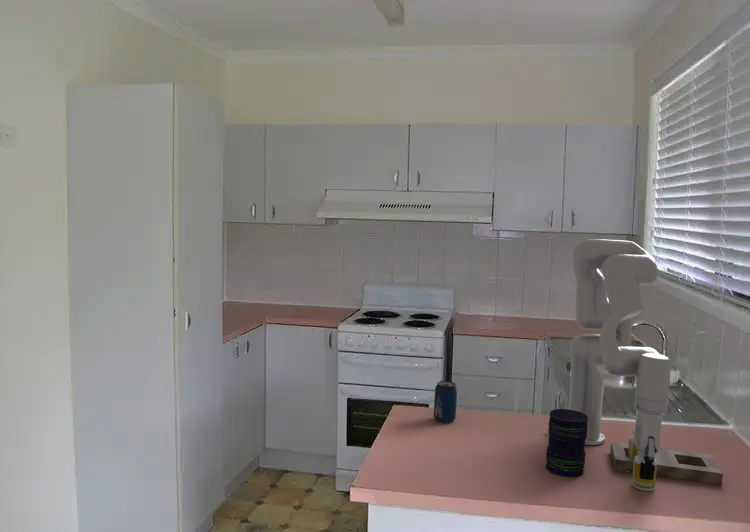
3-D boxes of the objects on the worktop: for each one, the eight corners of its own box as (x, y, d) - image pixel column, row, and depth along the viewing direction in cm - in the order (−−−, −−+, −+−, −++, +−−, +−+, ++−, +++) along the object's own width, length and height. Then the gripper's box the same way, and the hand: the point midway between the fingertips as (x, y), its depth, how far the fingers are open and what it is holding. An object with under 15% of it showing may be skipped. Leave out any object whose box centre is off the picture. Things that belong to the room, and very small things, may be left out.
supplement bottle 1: (622, 461, 184) (625, 427, 183) (638, 459, 186) (641, 426, 185) (636, 469, 179) (639, 434, 178) (652, 467, 181) (655, 433, 180)
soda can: (456, 418, 214) (458, 381, 212) (454, 425, 207) (456, 387, 206) (435, 415, 215) (437, 379, 214) (431, 422, 208) (433, 385, 207)
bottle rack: (614, 470, 177) (615, 459, 177) (610, 452, 190) (611, 442, 190) (721, 484, 171) (722, 473, 171) (709, 465, 184) (710, 455, 183)
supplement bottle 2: (656, 492, 165) (660, 454, 164) (633, 489, 166) (637, 452, 165) (652, 483, 170) (655, 446, 169) (630, 481, 171) (633, 444, 170)
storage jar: (573, 461, 182) (577, 408, 180) (591, 477, 172) (595, 421, 171) (539, 462, 180) (543, 409, 179) (554, 478, 171) (559, 421, 169)
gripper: (630, 392, 175) (624, 459, 177) (639, 412, 158) (632, 485, 160) (661, 396, 173) (655, 463, 175) (673, 416, 156) (666, 490, 158)
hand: (644, 473), depth 167 cm, fingers closed on supplement bottle 2, 5 cm apart
